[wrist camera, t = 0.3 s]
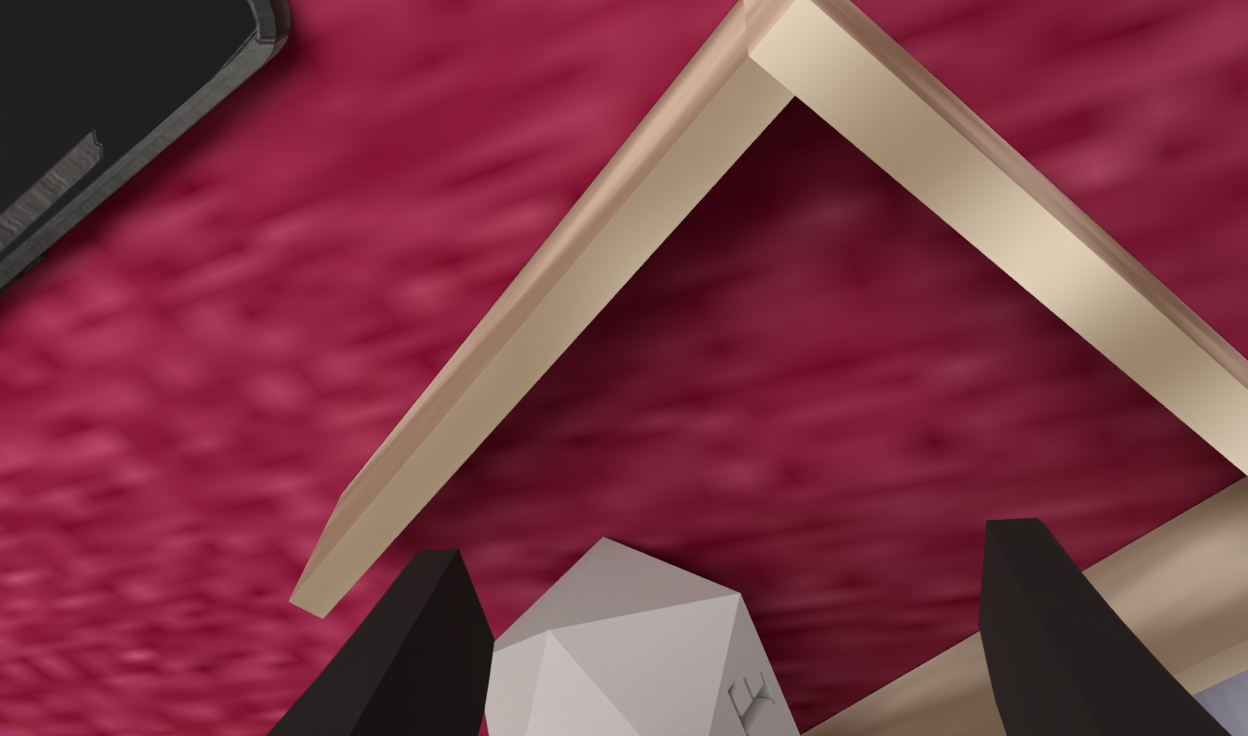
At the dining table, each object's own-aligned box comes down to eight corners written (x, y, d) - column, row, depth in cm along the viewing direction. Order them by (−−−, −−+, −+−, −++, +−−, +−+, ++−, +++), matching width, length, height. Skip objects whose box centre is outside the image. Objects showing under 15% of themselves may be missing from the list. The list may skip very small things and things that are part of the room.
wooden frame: (1347, 450, 22) (1453, 573, 19) (811, 752, 32) (821, 867, 29) (785, -59, 17) (802, -8, 13) (341, 494, 26) (288, 601, 23)
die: (752, 684, 31) (910, 845, 22) (528, 812, 29) (596, 1049, 20) (663, 476, 30) (791, 553, 20) (422, 597, 28) (442, 743, 18)
